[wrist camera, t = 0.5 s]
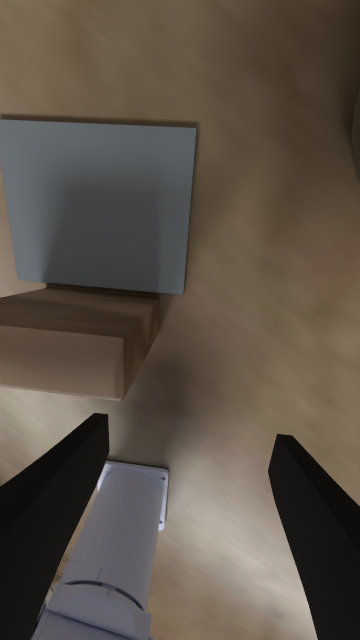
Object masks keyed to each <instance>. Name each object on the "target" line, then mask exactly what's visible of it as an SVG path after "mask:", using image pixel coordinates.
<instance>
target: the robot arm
mask: <svg viewBox="0 0 360 640" xmlns="http://www.w3.org/2000/svg"><path fill="white" fill-rule="evenodd" d="M108 454H109V426H108V414H100V413H94V414H92V415H91V416H90V417H89V418H88V419H86V420H85V421H84V422H83V423H82V424H80V425H79V426H78V427H77V428H76V429H74V430H73V431H72V432H71V433H70V434H68V435H67V436H66V437H65V438H64V439H62V440H61V441H60V442H59V443H58V444H56V445H55V446H54V447H53V448H51V449H50V450H49V451H48V452H46V453H45V454H44V455H43V456H41V457H40V458H39V459H37V460H36V461H35V462H33V463H32V464H31V465H29V466H28V467H27V468H25V469H24V470H23V471H21V472H20V473H19V474H17V475H16V476H15V477H13V478H12V479H10V480H9V481H8V482H6V483H5V484H3V485H2V486H1V487H0V640H156V639H155V637H154V636H150V635H149V634H150V626H151V619H152V615H151V614H149V613H147V612H146V609H147V603H148V596H149V589H150V582H151V576H152V569H153V562H154V555H155V549H156V542H157V535H158V530H163V529H164V526H165V514H166V501H167V489H168V477H169V471H168V470H167V469H163V468H156V467H149V466H141V465H134V464H127V463H120V462H113V461H106V460H107V457H108ZM268 474H269V478H270V483H271V488H272V492H273V496H274V500H275V504H276V507H277V510H278V513H279V516H280V519H281V522H282V525H283V528H284V531H285V534H286V537H287V540H288V543H289V546H290V549H291V552H292V555H293V558H294V561H295V564H296V567H297V570H298V573H299V576H300V579H301V582H302V585H303V588H304V591H305V595H306V598H307V601H308V604H309V608H310V612H311V616H312V619H313V623H314V627H315V631H316V634H317V638H318V640H360V506H359V505H358V504H357V503H356V502H355V501H354V500H353V499H352V498H351V497H350V496H349V495H348V494H347V493H346V492H345V491H344V490H343V489H342V488H341V487H340V486H339V485H338V484H337V483H336V482H335V481H334V480H333V479H332V478H331V477H330V476H329V475H328V473H327V472H326V471H325V470H324V469H323V468H322V467H321V466H320V465H319V464H318V463H317V462H316V461H315V460H314V458H313V457H312V456H311V455H310V454H309V453H308V452H307V451H306V450H305V449H304V448H303V447H302V445H301V444H300V443H299V442H298V441H297V440H296V439H295V438H294V437H293V436H291V435H283V434H277V436H276V440H275V444H274V448H273V452H272V456H271V461H270V465H269V469H268ZM96 485H97V486H98V493H97V496H96V498H95V500H94V503H93V505H92V507H91V510H90V512H89V514H88V517H87V519H86V521H85V524H84V526H83V528H82V531H81V533H80V535H79V538H78V540H77V542H76V545H75V547H74V549H73V552H72V554H71V556H70V559H69V561H68V563H67V566H66V568H65V570H64V573H63V575H62V577H61V580H60V582H59V583H56V585H55V587H54V590H53V592H52V594H51V597H50V599H49V601H48V604H47V606H46V603H47V600H45V598H46V596H47V593H48V591H49V588H50V586H51V583H52V581H53V578H54V576H55V573H56V571H57V568H58V566H59V563H60V561H61V559H62V557H63V554H64V552H65V550H66V548H67V546H68V543H69V541H70V539H71V537H72V535H73V533H74V531H75V529H76V527H77V525H78V523H79V521H80V519H81V516H82V514H83V512H84V510H85V508H86V506H87V504H88V502H89V500H90V498H91V496H92V493H93V491H94V489H95V487H96ZM45 606H46V608H45Z"/></svg>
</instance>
